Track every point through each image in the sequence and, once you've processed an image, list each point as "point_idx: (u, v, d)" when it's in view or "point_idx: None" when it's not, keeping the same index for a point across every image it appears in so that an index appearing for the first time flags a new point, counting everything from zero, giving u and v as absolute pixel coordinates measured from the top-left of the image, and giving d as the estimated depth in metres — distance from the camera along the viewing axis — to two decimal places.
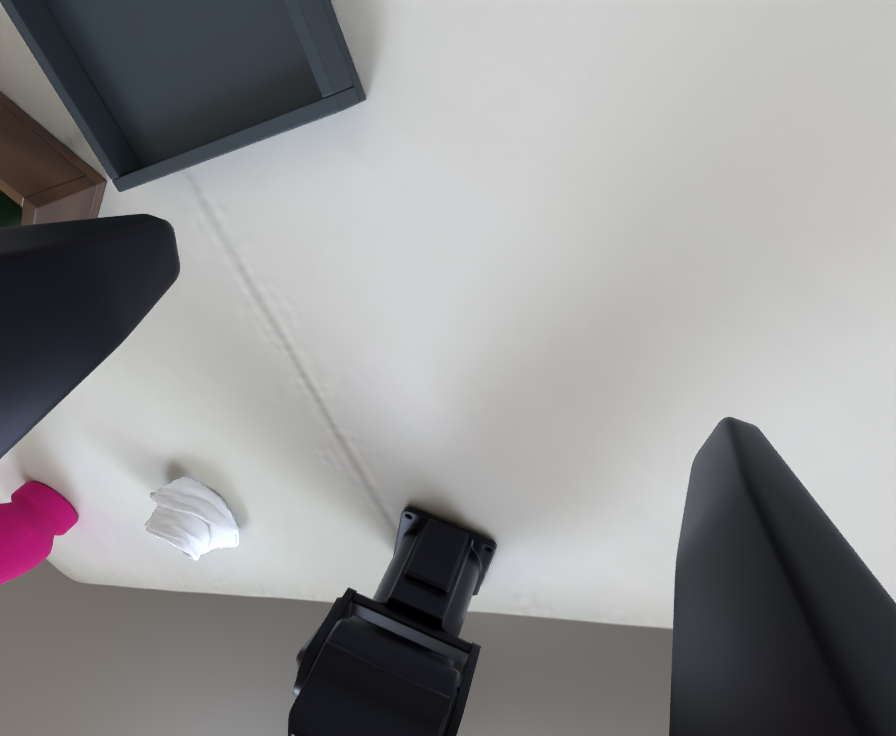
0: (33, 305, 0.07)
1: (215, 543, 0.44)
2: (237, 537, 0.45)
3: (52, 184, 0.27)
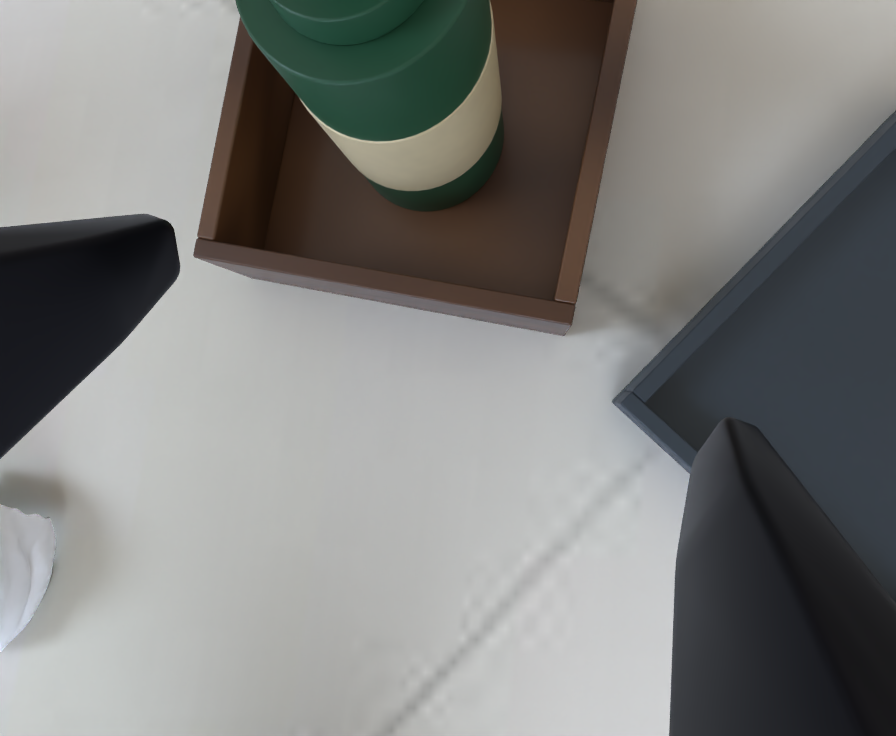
0: (33, 305, 0.07)
1: None
2: None
3: None
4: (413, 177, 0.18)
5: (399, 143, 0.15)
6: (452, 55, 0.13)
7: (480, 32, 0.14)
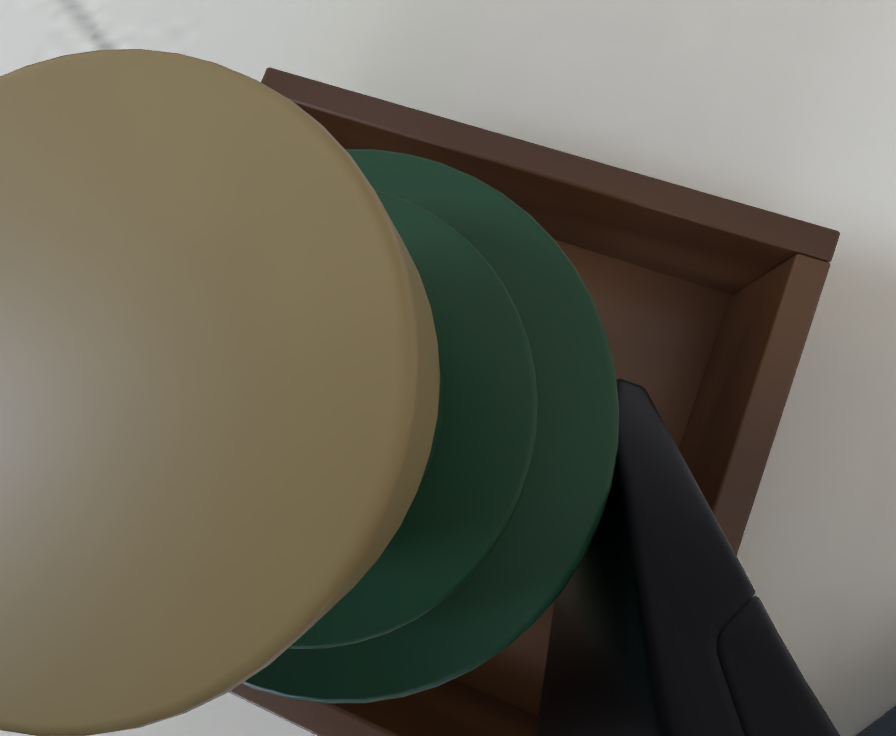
0: None
1: None
2: None
3: None
4: None
5: None
6: None
7: None
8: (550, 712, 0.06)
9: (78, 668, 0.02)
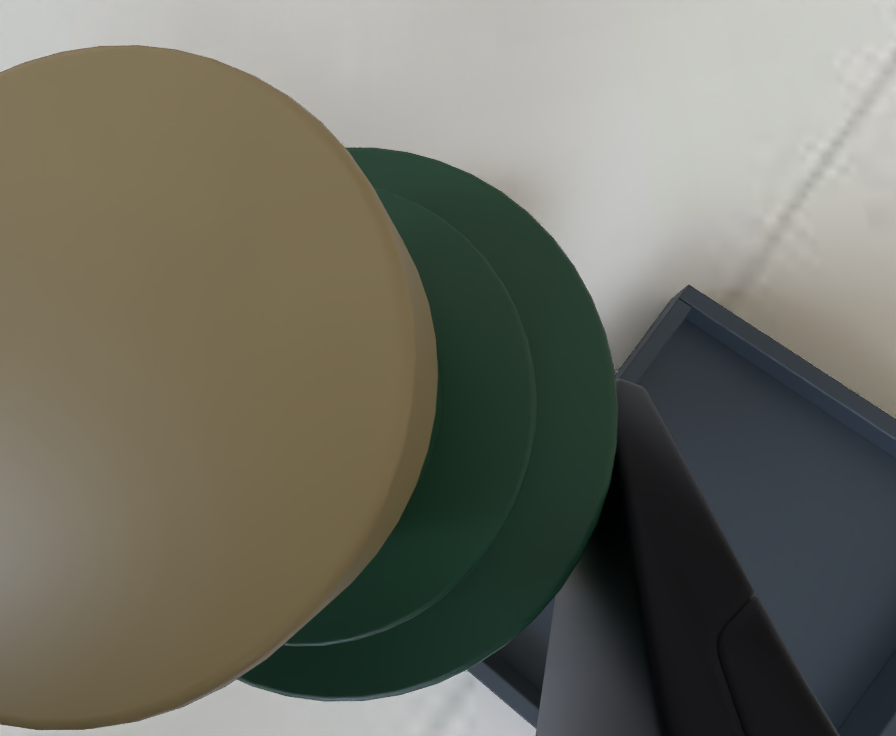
0: None
1: None
2: None
3: None
4: None
5: None
6: None
7: None
8: (550, 712, 0.06)
9: (77, 662, 0.02)
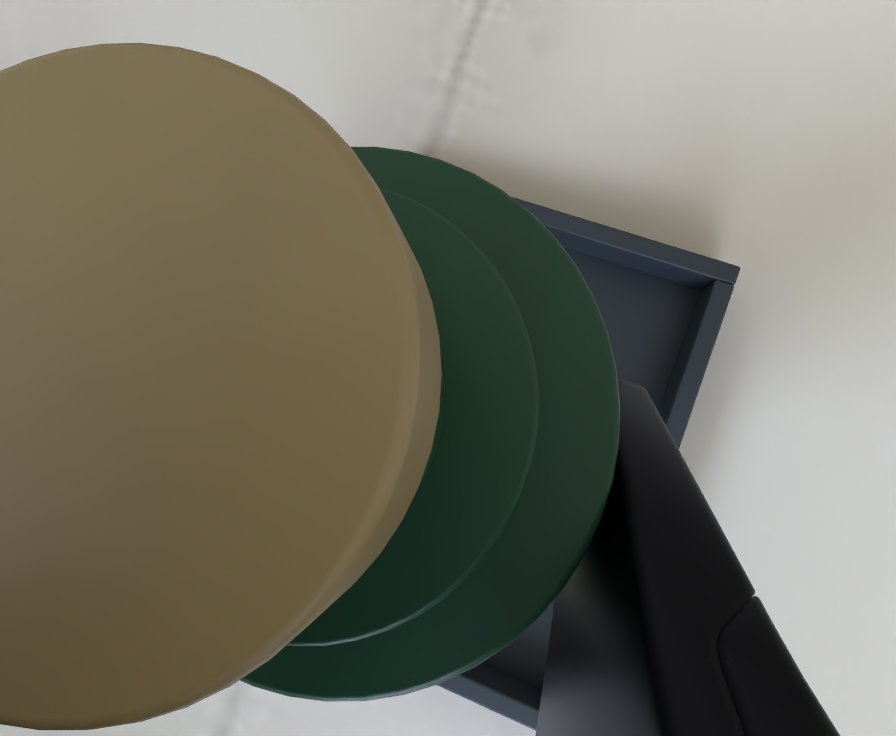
0: None
1: None
2: None
3: None
4: None
5: None
6: None
7: None
8: (550, 712, 0.06)
9: (80, 662, 0.02)
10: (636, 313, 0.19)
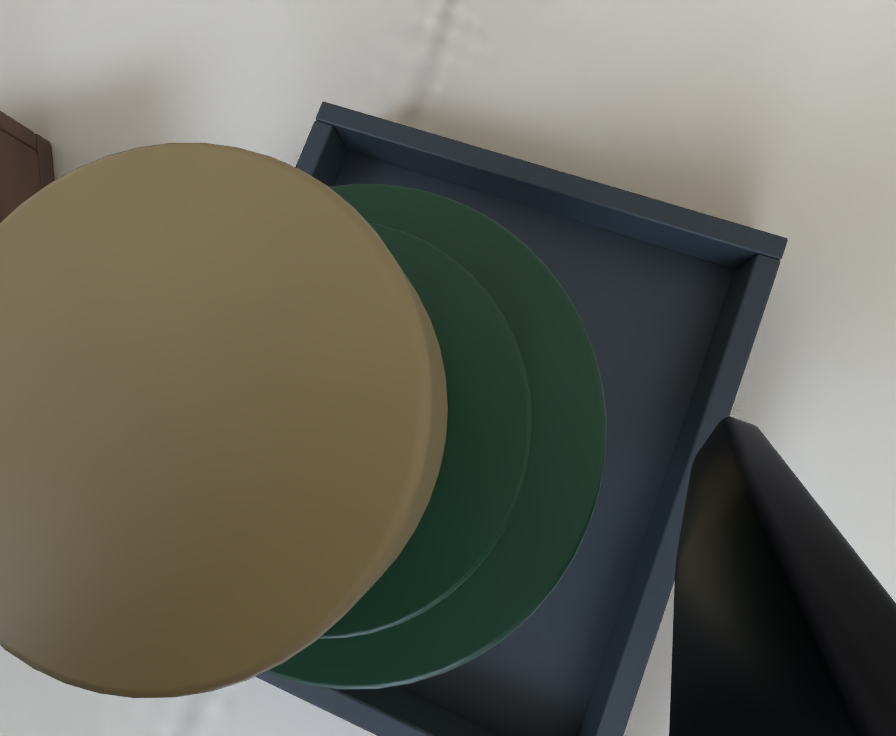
0: None
1: None
2: None
3: None
4: None
5: None
6: None
7: None
8: None
9: (164, 644, 0.03)
10: (657, 297, 0.15)
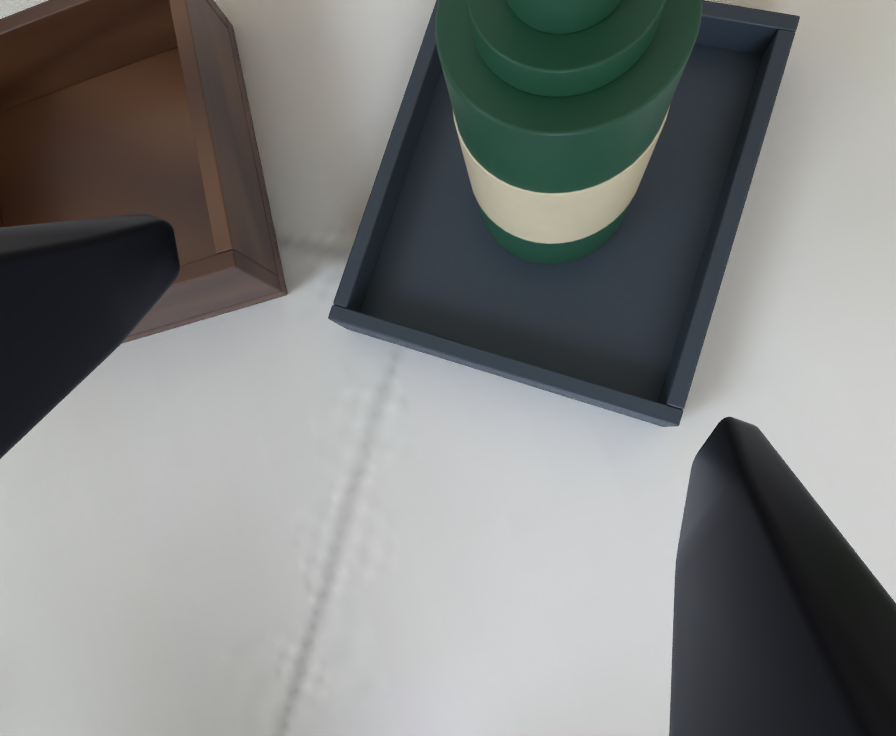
0: (33, 305, 0.07)
1: None
2: None
3: (255, 259, 0.21)
4: (552, 230, 0.18)
5: (560, 196, 0.15)
6: (650, 117, 0.13)
7: (672, 97, 0.13)
8: None
9: None
10: (705, 81, 0.21)
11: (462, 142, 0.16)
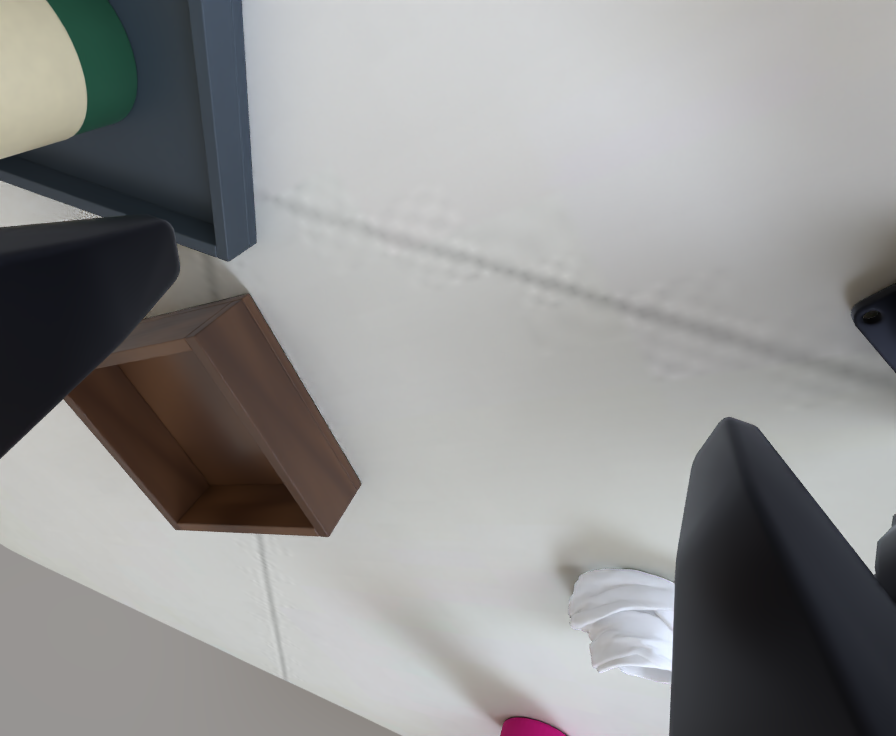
0: (33, 305, 0.07)
1: None
2: None
3: (206, 320, 0.26)
4: (42, 55, 0.18)
5: None
6: None
7: None
8: None
9: None
10: None
11: None
